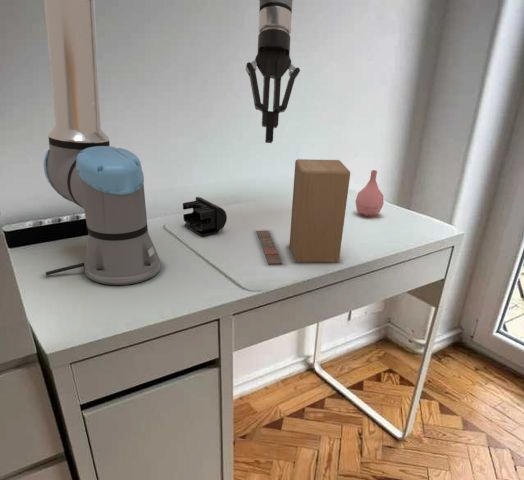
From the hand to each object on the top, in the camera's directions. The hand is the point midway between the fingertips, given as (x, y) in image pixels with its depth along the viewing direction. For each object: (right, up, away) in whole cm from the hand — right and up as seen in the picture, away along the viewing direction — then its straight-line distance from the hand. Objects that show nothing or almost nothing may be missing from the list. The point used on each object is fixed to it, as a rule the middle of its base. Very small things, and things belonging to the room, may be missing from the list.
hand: (269, 141), depth 120 cm
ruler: (0, -26, -2) cm, 26 cm away
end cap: (-16, -20, +7) cm, 26 cm away
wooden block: (+10, -28, -5) cm, 30 cm away
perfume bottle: (+28, -12, +21) cm, 37 cm away
